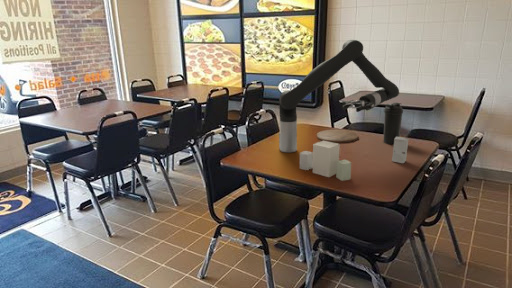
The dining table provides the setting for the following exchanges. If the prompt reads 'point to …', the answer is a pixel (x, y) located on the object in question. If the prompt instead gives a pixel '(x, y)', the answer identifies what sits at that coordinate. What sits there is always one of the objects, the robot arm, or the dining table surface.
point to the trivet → (337, 136)
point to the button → (339, 150)
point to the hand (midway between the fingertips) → (349, 109)
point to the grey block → (306, 160)
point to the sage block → (343, 170)
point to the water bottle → (392, 122)
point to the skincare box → (400, 149)
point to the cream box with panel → (325, 158)
